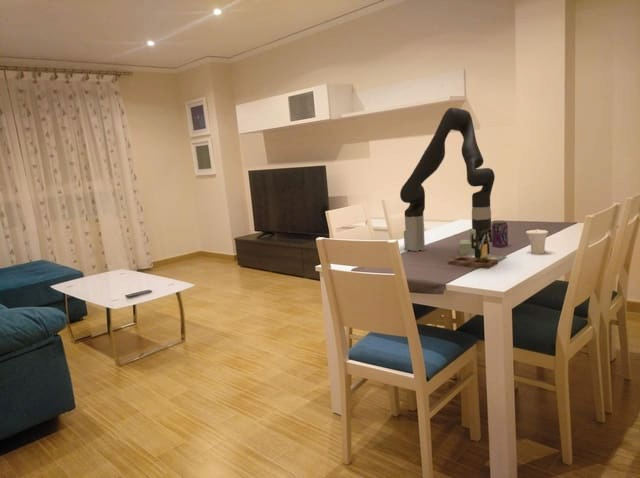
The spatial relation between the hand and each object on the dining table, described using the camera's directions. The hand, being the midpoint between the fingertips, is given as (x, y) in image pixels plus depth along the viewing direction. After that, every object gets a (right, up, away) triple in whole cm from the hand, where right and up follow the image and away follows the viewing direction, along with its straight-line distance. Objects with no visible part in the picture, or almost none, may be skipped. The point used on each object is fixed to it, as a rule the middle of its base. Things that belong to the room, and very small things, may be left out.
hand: (482, 255), depth 192 cm
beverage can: (+20, +3, +33) cm, 39 cm away
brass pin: (0, -4, +1) cm, 4 cm away
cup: (+29, +1, +14) cm, 32 cm away
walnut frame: (-3, -4, +4) cm, 6 cm away
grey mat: (+4, -2, +11) cm, 12 cm away
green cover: (+5, +1, +26) cm, 27 cm away
